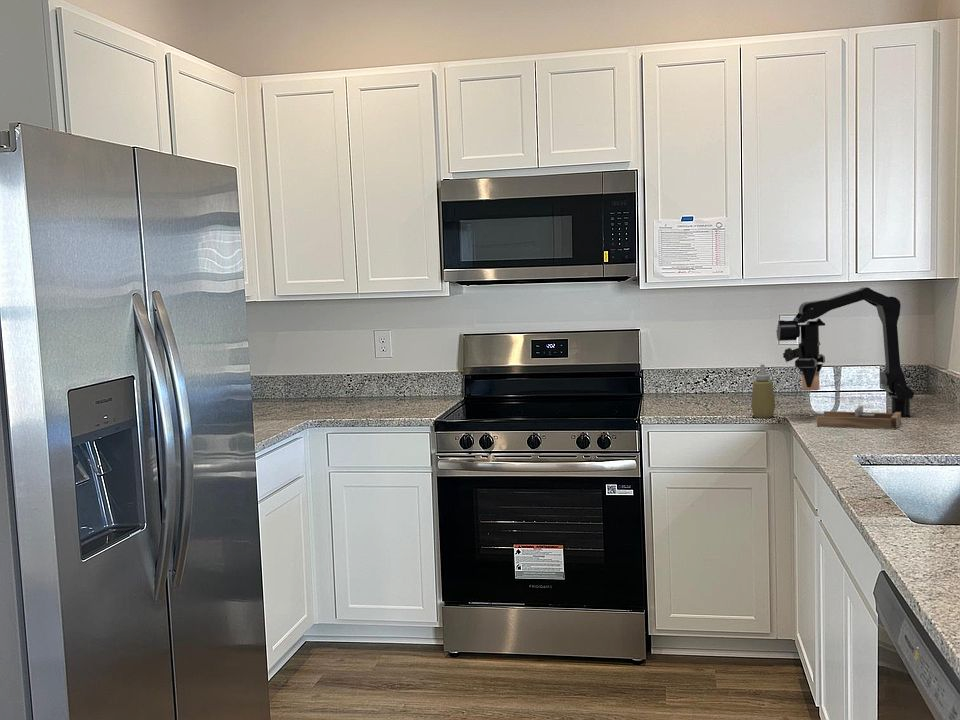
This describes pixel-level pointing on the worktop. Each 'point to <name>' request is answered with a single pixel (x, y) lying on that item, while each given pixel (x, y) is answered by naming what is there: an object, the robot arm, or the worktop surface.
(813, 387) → the jar
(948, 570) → the worktop surface
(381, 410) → the worktop surface
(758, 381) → the squeeze bottle
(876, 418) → the tray
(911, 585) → the worktop surface
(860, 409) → the pusher
